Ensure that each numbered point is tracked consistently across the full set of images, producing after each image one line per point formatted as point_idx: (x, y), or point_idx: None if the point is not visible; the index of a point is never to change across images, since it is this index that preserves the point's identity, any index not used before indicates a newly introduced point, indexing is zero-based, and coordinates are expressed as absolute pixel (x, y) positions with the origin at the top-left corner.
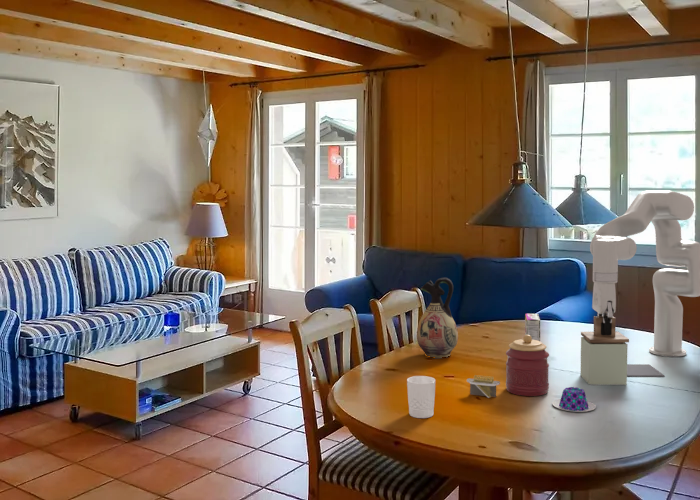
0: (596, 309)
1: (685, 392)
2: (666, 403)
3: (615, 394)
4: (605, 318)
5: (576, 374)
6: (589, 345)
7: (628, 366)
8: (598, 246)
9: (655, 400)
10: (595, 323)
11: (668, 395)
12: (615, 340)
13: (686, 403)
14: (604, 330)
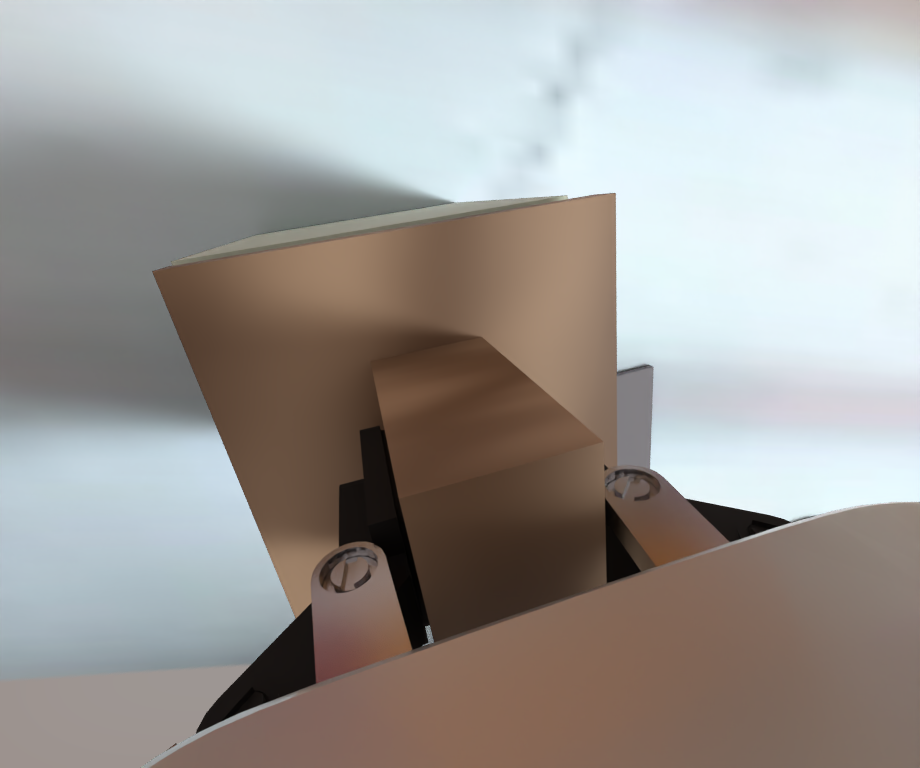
0: (535, 684)
1: (263, 638)
2: (20, 588)
3: (81, 370)
4: (224, 703)
5: (473, 179)
6: (197, 256)
7: (617, 448)
8: None
9: (54, 547)
10: (439, 418)
11: (183, 590)
12: (269, 542)
13: (69, 652)
14: (341, 495)
